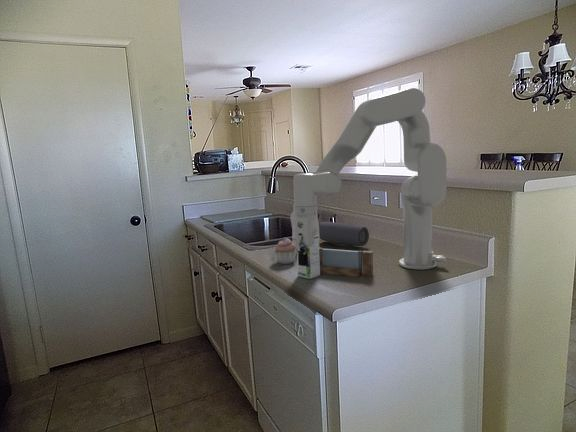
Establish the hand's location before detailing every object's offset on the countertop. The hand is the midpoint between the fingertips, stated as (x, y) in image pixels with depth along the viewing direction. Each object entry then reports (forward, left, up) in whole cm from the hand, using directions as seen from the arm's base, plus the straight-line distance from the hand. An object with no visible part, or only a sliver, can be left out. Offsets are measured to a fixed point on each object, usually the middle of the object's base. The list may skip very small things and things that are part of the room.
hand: (308, 261), depth 129 cm
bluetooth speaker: (+3, -43, -5) cm, 43 cm away
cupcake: (+15, -12, -5) cm, 20 cm away
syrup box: (0, 0, -5) cm, 5 cm away
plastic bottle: (+18, -30, -5) cm, 35 cm away
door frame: (-9, -6, -5) cm, 12 cm away
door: (-10, -7, -5) cm, 13 cm away
